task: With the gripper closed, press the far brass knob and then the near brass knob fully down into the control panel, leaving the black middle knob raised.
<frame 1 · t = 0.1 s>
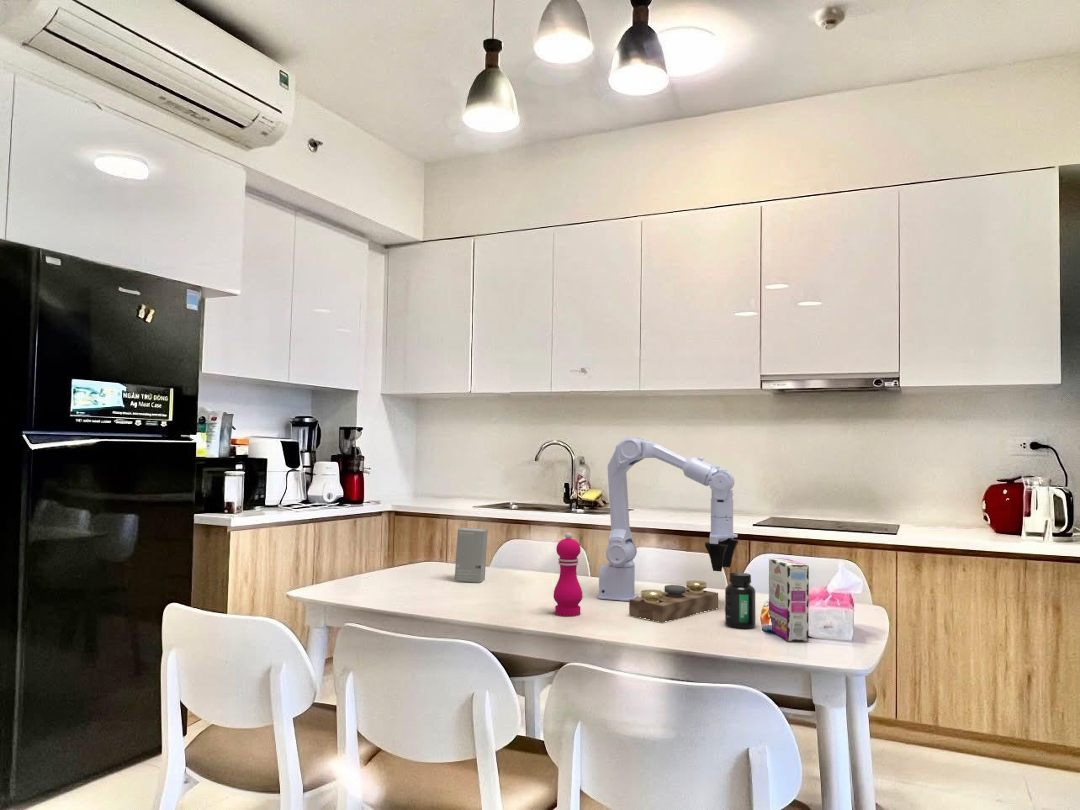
hand: (721, 569, 196), 10 cm above the table, tool pointing down, fingers open, 7 cm apart
far brass knob: (696, 591, 196), point 4 cm above the table, slide at 0.0 cm
candy bar box: (788, 636, 167), on the table
control panel: (674, 612, 189), on the table
skincare box: (470, 581, 229), on the table
supplement bottle: (740, 626, 176), on the table
pepper mill: (567, 614, 186), on the table
near brass knob: (651, 601, 183), point 4 cm above the table, slide at 0.0 cm
middle black knob: (674, 596, 190), point 4 cm above the table, slide at 0.0 cm
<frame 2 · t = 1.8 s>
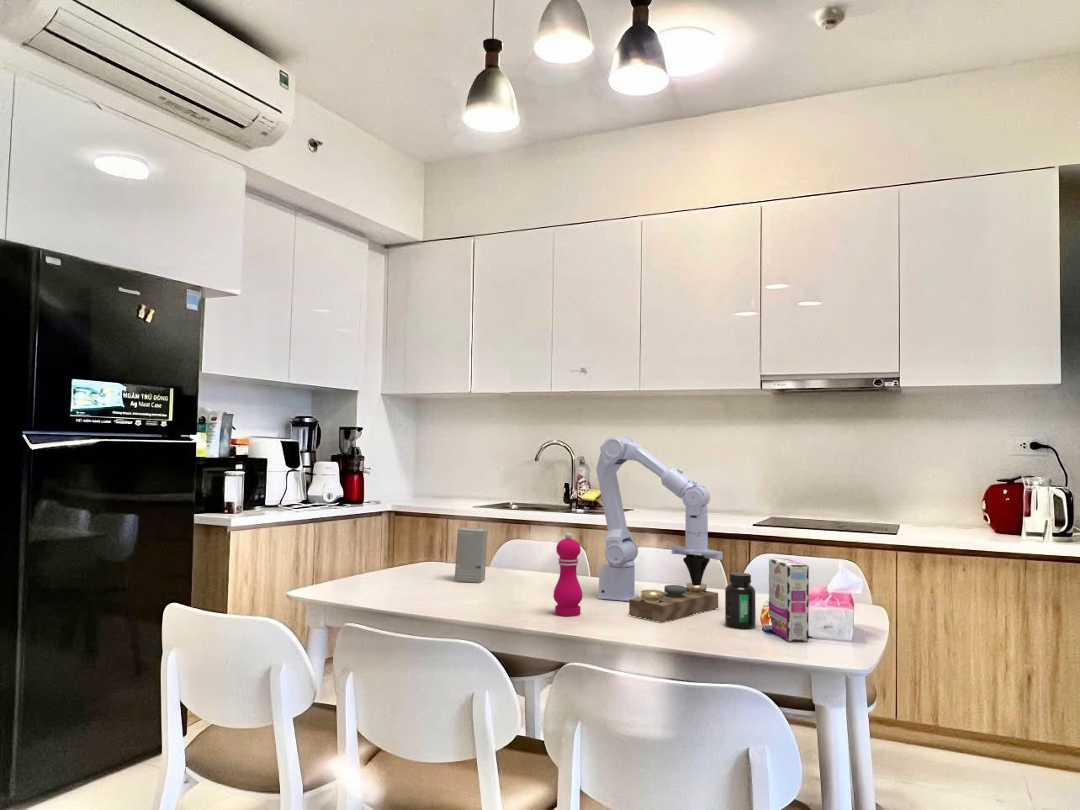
hand: (696, 584, 196), 6 cm above the table, tool pointing down, fingers closed, pressing on far brass knob
far brass knob: (696, 593, 196), point 3 cm above the table, slide at 0.6 cm, touching gripper
everything else where it was.
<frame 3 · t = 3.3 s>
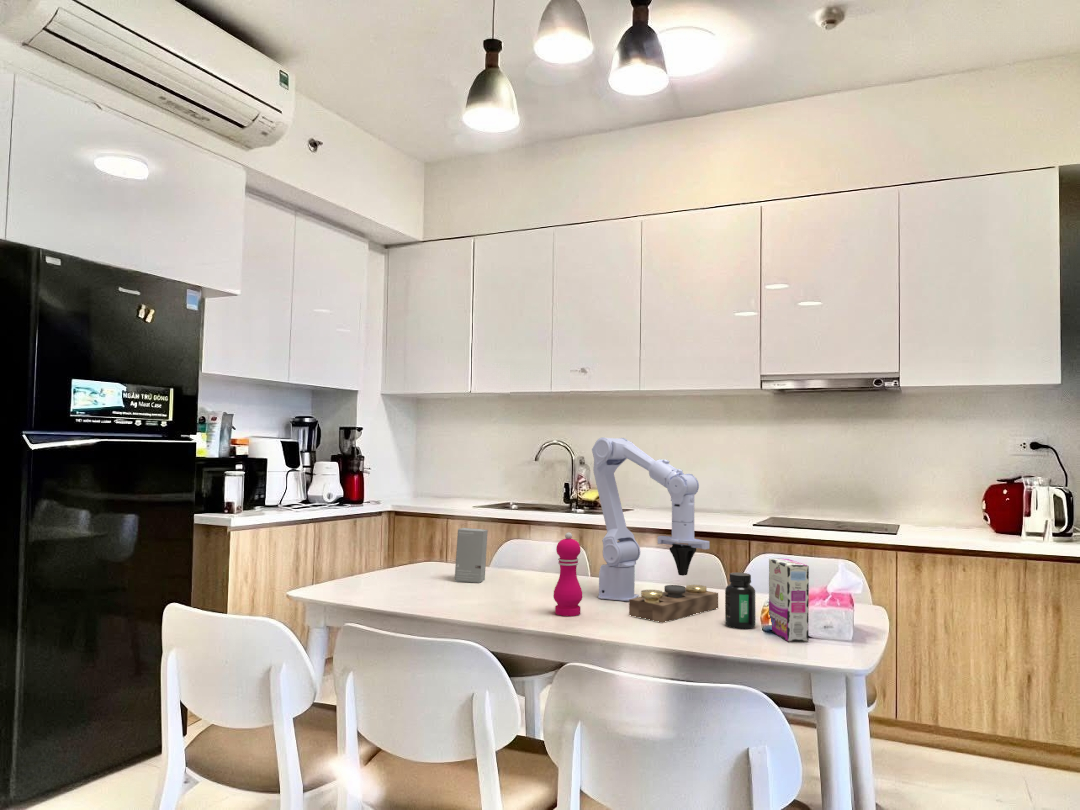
hand: (682, 574, 192), 9 cm above the table, tool pointing down, fingers closed
far brass knob: (696, 595, 196), point 3 cm above the table, slide at 1.1 cm, touching control panel
everything else where it was.
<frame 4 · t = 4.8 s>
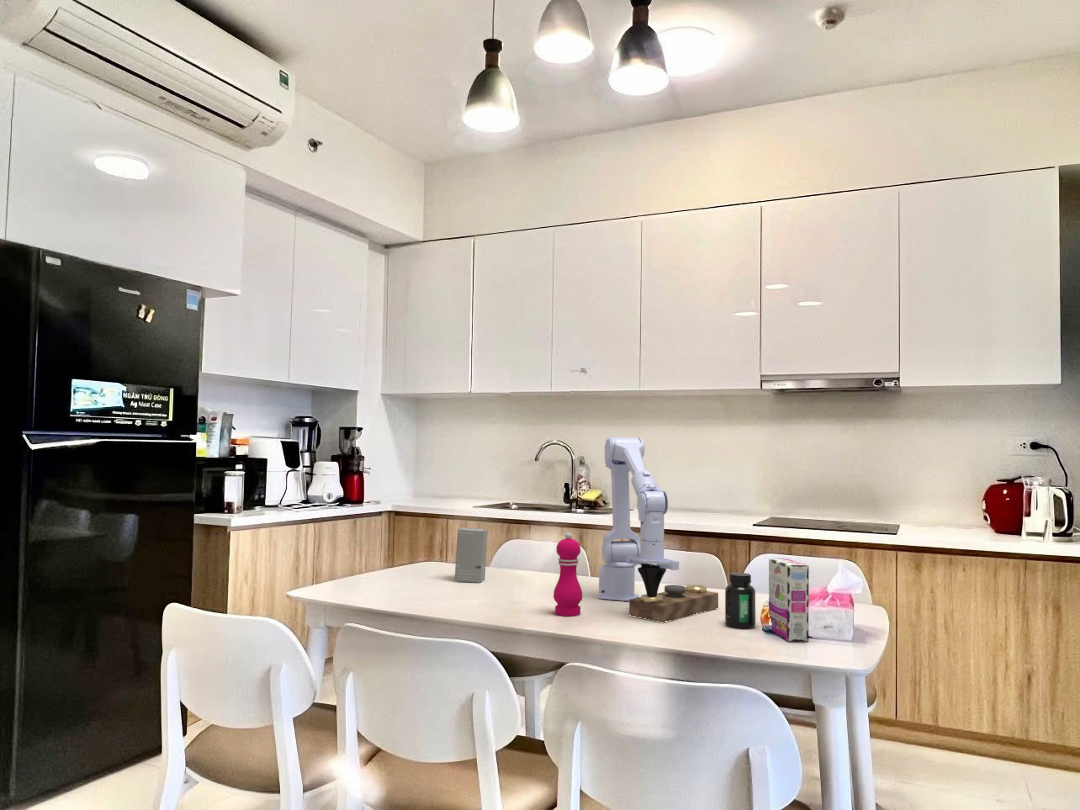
hand: (651, 596, 183), 5 cm above the table, tool pointing down, fingers closed, pressing on near brass knob
near brass knob: (651, 606, 183), point 3 cm above the table, slide at 1.1 cm, touching control panel, gripper
everything else where it was.
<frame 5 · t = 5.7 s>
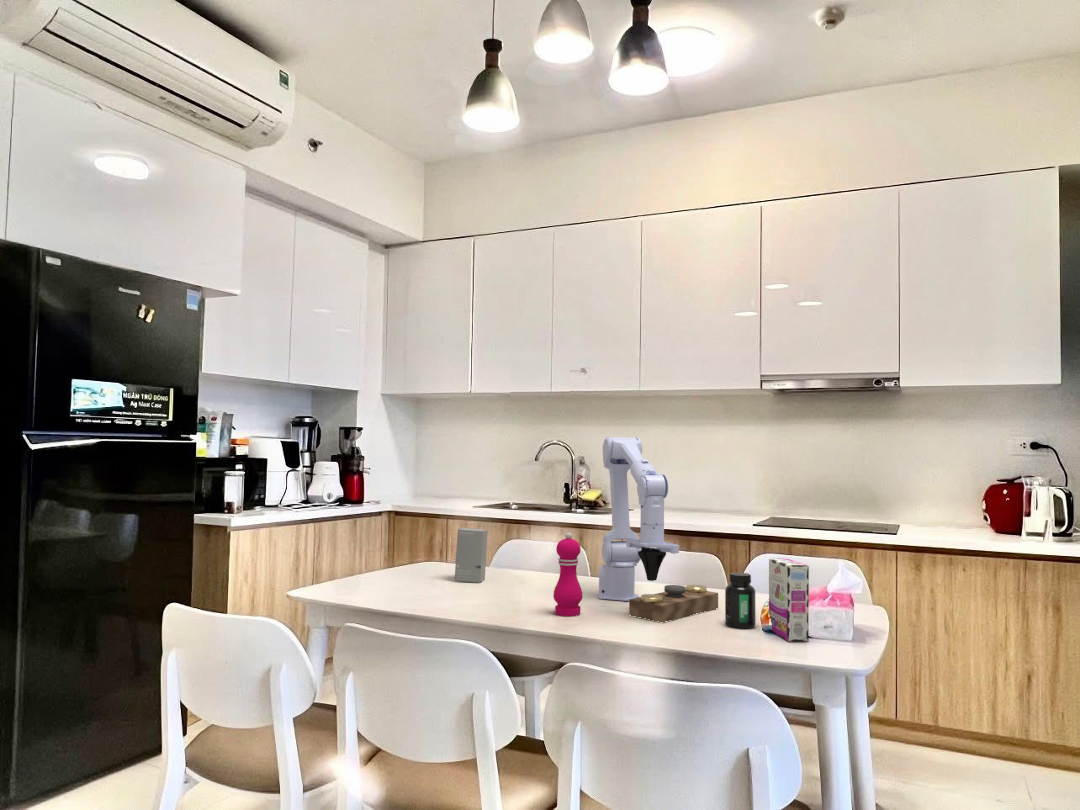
hand: (651, 580, 183), 9 cm above the table, tool pointing down, fingers closed
near brass knob: (651, 606, 183), point 3 cm above the table, slide at 1.1 cm, touching control panel
everything else where it was.
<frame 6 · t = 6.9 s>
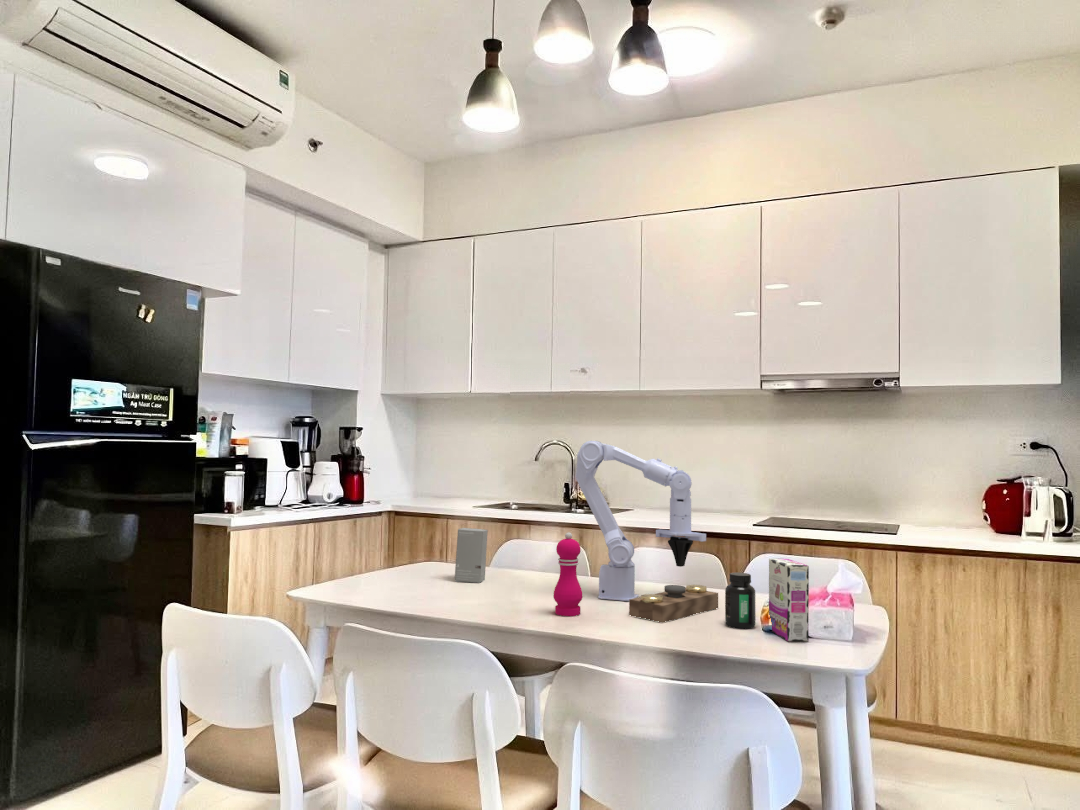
hand: (680, 566, 203), 9 cm above the table, tool pointing down, fingers closed
nothing on the table moved.
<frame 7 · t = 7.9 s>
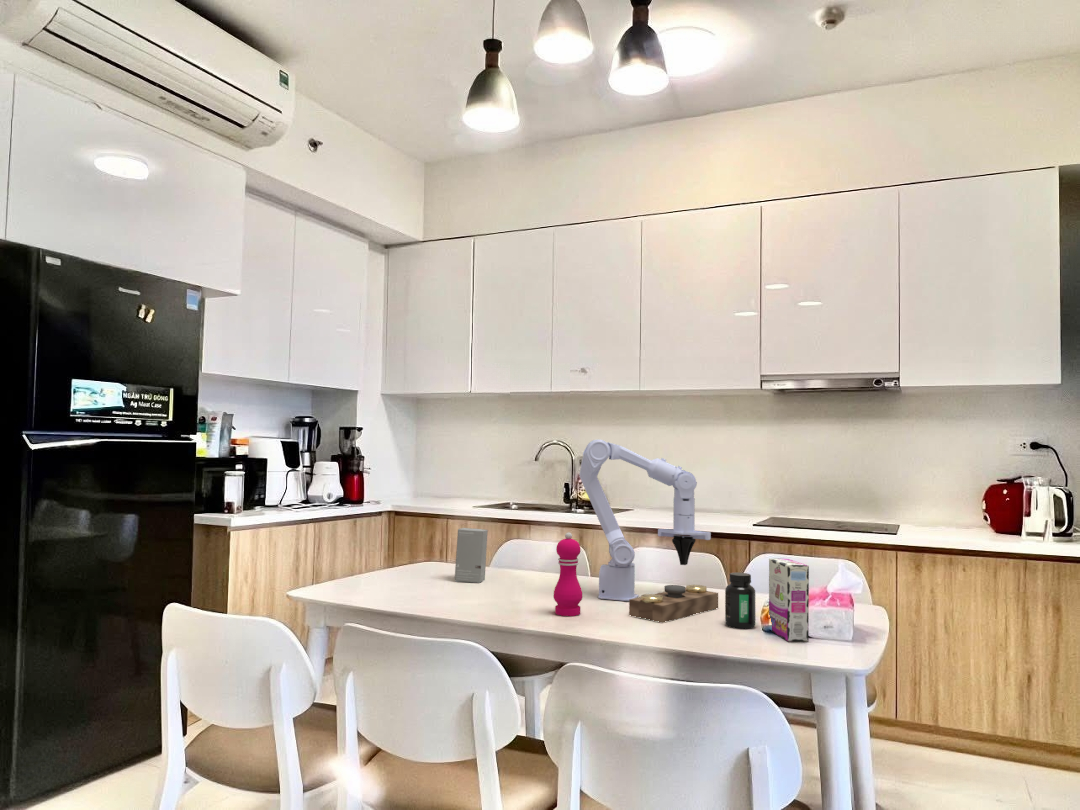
hand: (683, 564, 206), 9 cm above the table, tool pointing down, fingers closed
nothing on the table moved.
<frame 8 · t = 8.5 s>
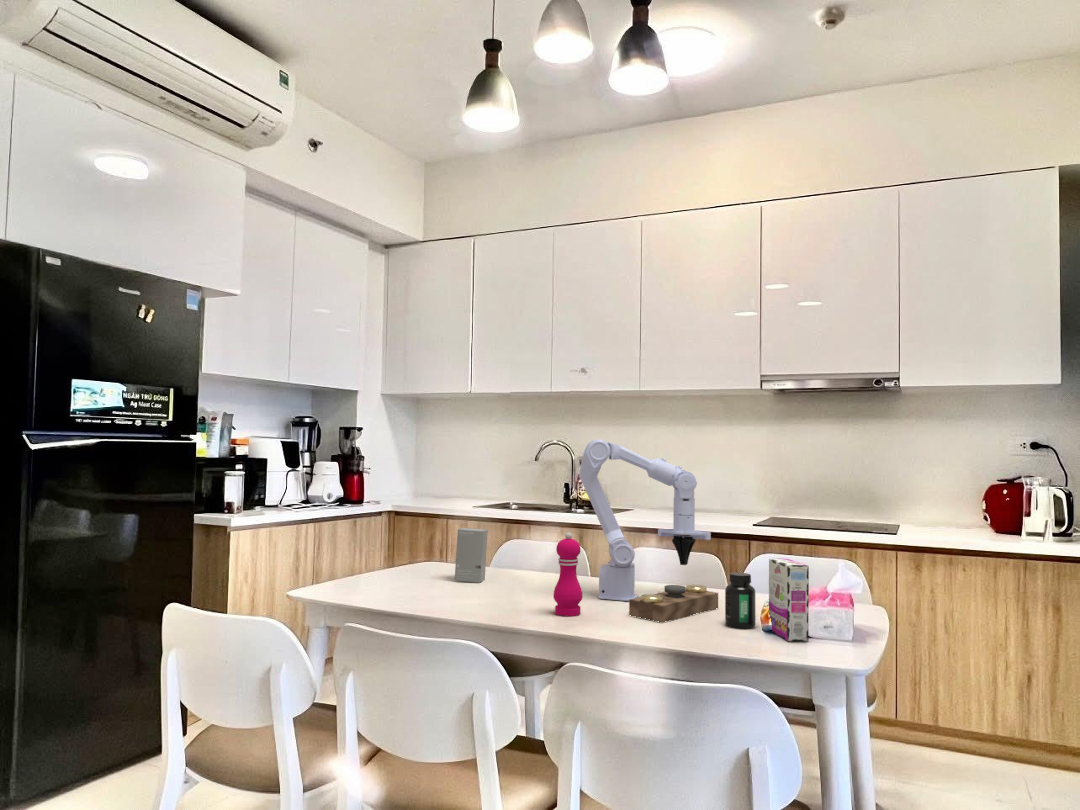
hand: (683, 564, 206), 9 cm above the table, tool pointing down, fingers closed
nothing on the table moved.
at the end: far brass knob slide at 1.1 cm; near brass knob slide at 1.1 cm; middle black knob slide at 0.0 cm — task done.
